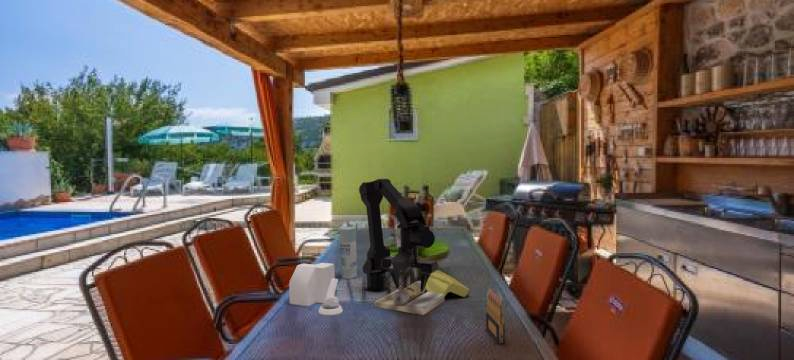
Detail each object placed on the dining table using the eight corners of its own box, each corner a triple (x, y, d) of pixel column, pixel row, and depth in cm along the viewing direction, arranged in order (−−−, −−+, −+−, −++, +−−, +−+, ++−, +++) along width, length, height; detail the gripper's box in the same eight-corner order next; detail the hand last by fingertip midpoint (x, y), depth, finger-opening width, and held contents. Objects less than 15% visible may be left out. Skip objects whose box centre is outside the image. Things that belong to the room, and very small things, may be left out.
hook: (349, 288, 165) (349, 280, 159) (340, 323, 159) (340, 317, 153) (327, 283, 165) (326, 276, 159) (317, 318, 159) (316, 312, 153)
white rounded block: (335, 298, 171) (334, 263, 171) (316, 307, 161) (315, 271, 161) (309, 294, 176) (308, 261, 175) (289, 303, 166) (288, 268, 165)
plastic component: (471, 290, 171) (448, 281, 167) (462, 310, 170) (439, 301, 167) (446, 273, 189) (424, 264, 185) (437, 291, 189) (416, 282, 185)
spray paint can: (360, 276, 201) (359, 227, 199) (350, 279, 195) (348, 229, 194) (348, 274, 204) (346, 226, 203) (337, 277, 199) (336, 228, 198)
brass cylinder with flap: (411, 302, 160) (411, 289, 160) (387, 298, 165) (387, 285, 164) (420, 297, 165) (419, 284, 165) (395, 294, 170) (395, 281, 170)
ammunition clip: (485, 329, 140) (485, 287, 139) (492, 329, 140) (492, 287, 139) (498, 344, 129) (498, 299, 128) (505, 344, 129) (505, 298, 129)
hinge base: (373, 306, 161) (373, 288, 161) (397, 294, 175) (397, 277, 175) (423, 314, 153) (423, 296, 152) (444, 300, 167) (444, 283, 166)
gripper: (372, 245, 160) (372, 292, 161) (424, 250, 151) (424, 300, 152) (389, 239, 170) (389, 284, 171) (438, 244, 161) (439, 291, 162)
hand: (409, 290), depth 164 cm, fingers open, 9 cm apart
